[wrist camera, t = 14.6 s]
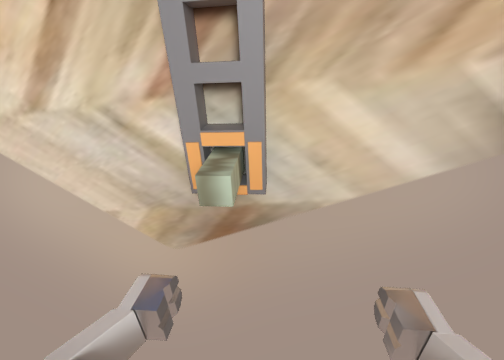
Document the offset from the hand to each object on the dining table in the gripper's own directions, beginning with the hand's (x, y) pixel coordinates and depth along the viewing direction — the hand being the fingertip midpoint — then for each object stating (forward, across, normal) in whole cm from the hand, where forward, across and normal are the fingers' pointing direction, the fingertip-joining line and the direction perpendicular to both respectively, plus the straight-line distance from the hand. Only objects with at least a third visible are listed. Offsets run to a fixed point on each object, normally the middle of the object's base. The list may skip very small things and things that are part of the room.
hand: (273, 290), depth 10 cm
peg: (+31, +8, +6) cm, 33 cm away
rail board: (+31, +8, -2) cm, 32 cm away
